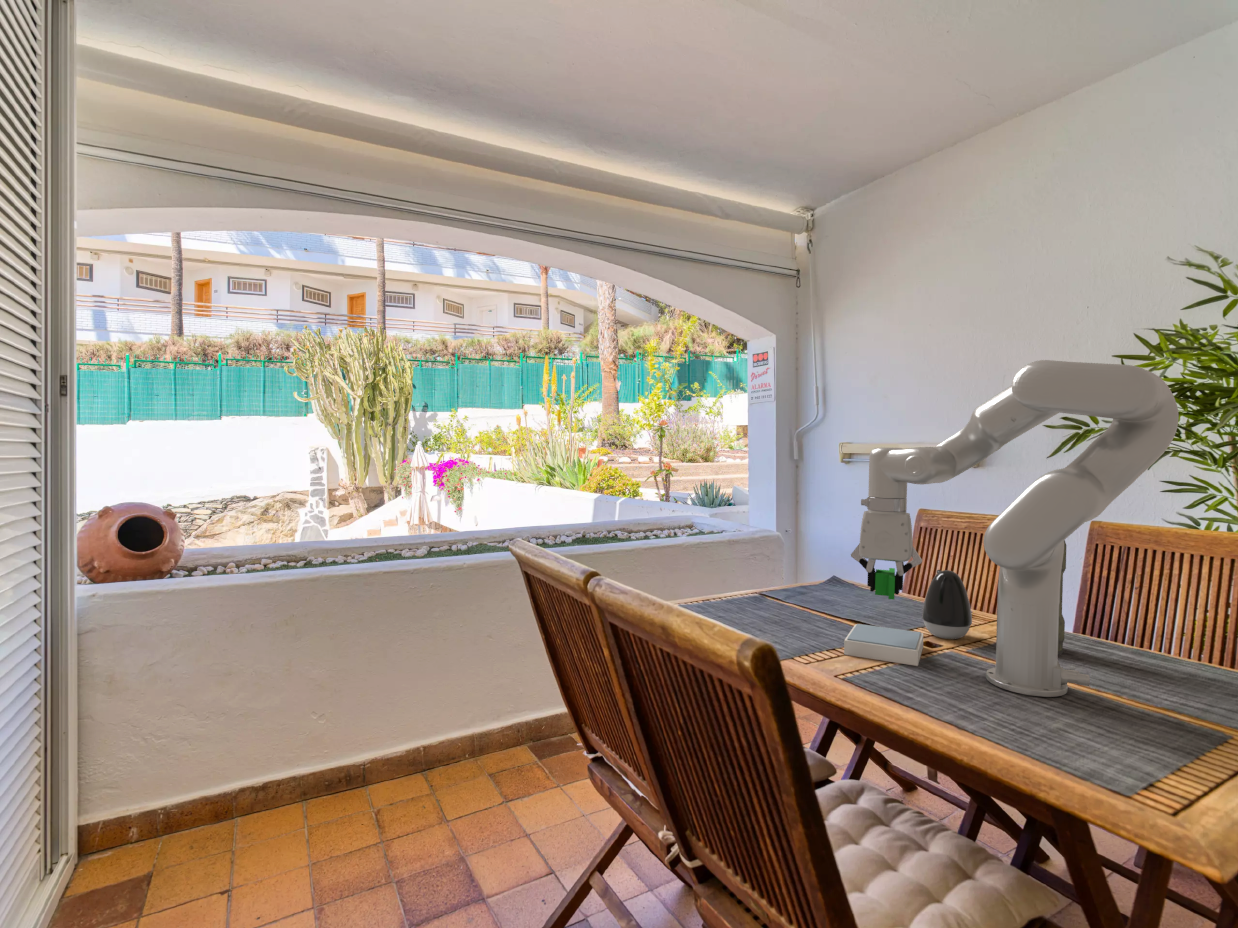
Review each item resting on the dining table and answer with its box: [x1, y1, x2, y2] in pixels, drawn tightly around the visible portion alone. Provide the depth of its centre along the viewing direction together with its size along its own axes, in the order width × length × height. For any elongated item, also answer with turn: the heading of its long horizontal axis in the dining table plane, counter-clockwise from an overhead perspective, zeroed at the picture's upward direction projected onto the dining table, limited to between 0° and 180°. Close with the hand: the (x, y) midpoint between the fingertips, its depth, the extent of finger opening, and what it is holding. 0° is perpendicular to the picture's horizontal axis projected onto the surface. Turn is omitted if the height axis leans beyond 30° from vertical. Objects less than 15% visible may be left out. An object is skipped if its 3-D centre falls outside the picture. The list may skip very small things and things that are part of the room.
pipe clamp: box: [874, 567, 896, 600], centre depth 136 cm, size 11×4×5 cm, turn 157°
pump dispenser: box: [921, 569, 973, 640], centre depth 148 cm, size 10×10×15 cm
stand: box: [843, 623, 924, 667], centre depth 137 cm, size 14×14×3 cm
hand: (884, 590), depth 137 cm, fingers closed on pipe clamp, 4 cm apart
